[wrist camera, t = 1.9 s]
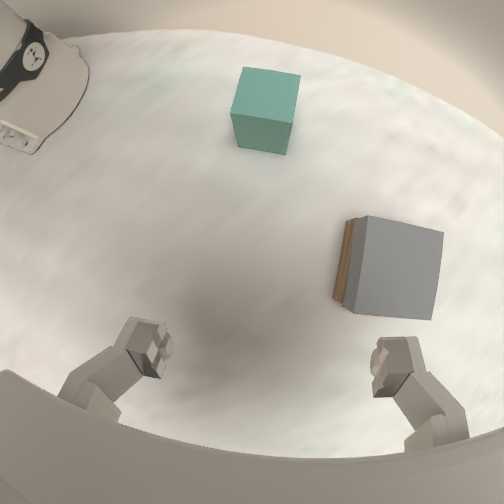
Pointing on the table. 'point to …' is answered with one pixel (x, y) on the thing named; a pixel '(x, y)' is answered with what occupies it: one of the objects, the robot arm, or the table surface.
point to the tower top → (393, 269)
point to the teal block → (264, 109)
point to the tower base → (344, 261)
